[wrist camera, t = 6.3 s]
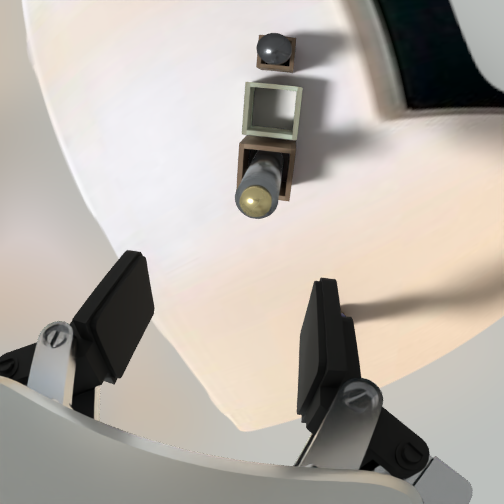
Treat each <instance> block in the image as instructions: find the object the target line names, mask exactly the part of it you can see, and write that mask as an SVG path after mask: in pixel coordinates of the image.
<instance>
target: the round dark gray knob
mask: <svg viewBox="0 0 504 504" xmlns="http://www.w3.org/2000/svg"><path fill="white" fill-rule="evenodd" d="M257 53H258V55H259V57H260V58H261V59H262V60H263V61H265V62H266V63H268V64H271V65H280V64H283V63H285V62H286V61H287V60H288V59H289V58H290V56H291V54H292V46H291V43H290V41H289V40H288V39H287V38H286V37H285V36H283V35H281V34H278V33H270V34H267V35H265V36H263V37H262V38H261V39H260V40H259V41H258V44H257Z"/></svg>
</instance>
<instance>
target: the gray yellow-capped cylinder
mask: <svg viewBox="0 0 504 504" xmlns="http://www.w3.org/2000/svg"><path fill="white" fill-rule="evenodd" d="M283 161H284V160H283V156H282V154H281V153H280V152H273V151H264V150H259V151H258V152H257V153H256V155H255V157H254V158H253V160H252V162H251V164H250V166H249V168H248V170H247V171H246V173H245V175H244V177H243V179H242V181H241V183H240V185H239V187H238V189H237V191H236V194H235V202H236V205H237V207H238V209H239V210H240V211H241V212H242V213H243V214H244V215H246V216H248V217H250V218H255V219H261V218H265V217H267V216H269V215H271V214H272V213H273V212H274V211H275V209H276V207H277V205H278V199H279V191H280V184H281V177H282V170H283Z"/></svg>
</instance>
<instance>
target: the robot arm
mask: <svg viewBox="0 0 504 504" xmlns="http://www.w3.org/2000/svg"><path fill="white" fill-rule="evenodd" d="M153 314H154V302H153V297H152V292H151V286H150V280H149V274H148V268H147V261H146V258H145V257H144V256H143V255H142V253H141V252H137V251H130V250H127V251H126V252H125V253H124V254H123V255H122V256H121V257H120V259H119V260H118V261H117V262H116V263H115V265H114V266H113V267H112V268H111V270H110V271H109V272H108V273H107V275H106V276H105V277H104V278H103V280H102V281H101V282H100V283H99V285H98V286H97V287H96V288H95V290H94V291H93V292H92V294H91V295H90V296H89V298H88V299H87V300H86V302H85V303H84V304H83V306H82V307H81V308H80V310H79V311H78V312H77V314H76V315H75V316H74V318H73V320H72V322H71V323H70V324H68V323H66V322H62V321H57V322H53V323H51V324H48V325H47V326H46V327H44V329H43V330H42V331H41V333H40V335H39V338H38V341H37V343H34V344H31V345H28V346H25V347H22V348H20V349H17V350H14V351H11V352H8V353H6V354H4V355H2V356H1V357H0V504H469V502H470V500H471V497H472V487H471V484H470V483H469V482H468V481H467V480H466V479H465V478H464V477H462V476H461V475H459V474H458V473H457V472H456V471H454V470H453V469H452V468H450V467H449V466H448V465H447V464H445V463H444V462H443V461H441V460H440V459H439V458H438V457H436V456H435V457H434V458H432V457H431V456H430V454H429V448H428V446H427V444H426V443H425V442H424V441H423V439H422V438H420V437H419V436H418V435H417V434H415V433H414V432H413V431H411V430H410V429H409V428H408V427H407V426H405V425H404V424H403V423H401V422H400V421H399V420H398V419H397V418H395V417H394V416H393V415H392V414H391V413H389V412H388V411H387V410H386V409H384V408H383V407H382V405H383V396H382V392H381V390H380V389H379V387H378V386H377V385H376V384H375V383H374V382H372V381H370V380H368V379H364V378H361V372H360V364H359V357H358V349H357V342H356V336H355V329H354V323H353V319H352V318H351V317H346V316H341V309H340V302H339V295H338V288H337V282H336V280H335V279H328V278H320V281H314V284H313V288H312V292H311V296H310V300H309V303H308V307H307V311H306V315H305V318H304V322H303V326H302V329H301V334H300V349H299V377H298V398H297V414H298V415H302V421H301V422H302V423H306V428H307V429H308V430H309V431H310V432H311V433H312V434H311V435H310V437H309V439H308V441H307V443H306V444H305V446H304V448H303V450H302V452H301V453H300V455H299V457H298V458H297V461H296V462H295V464H294V465H293V466H284V465H274V464H264V463H255V462H248V461H241V460H235V459H229V458H224V457H218V456H213V455H208V454H204V453H199V452H195V451H190V450H186V449H182V448H178V447H174V446H171V445H167V444H163V443H160V442H156V441H153V440H150V439H146V438H143V437H140V436H137V435H135V434H131V433H128V432H126V431H123V430H120V429H118V428H115V427H112V426H110V425H107V424H104V423H102V422H100V419H99V418H100V417H99V415H100V385H102V383H103V381H106V382H109V383H112V384H115V382H116V380H117V378H121V377H122V375H123V373H124V371H125V369H126V367H127V365H128V363H129V361H130V359H131V357H132V355H133V353H134V351H135V349H136V347H137V345H138V343H139V341H140V339H141V338H142V336H143V334H144V332H145V329H146V328H147V326H148V324H149V322H150V320H151V318H152V316H153Z"/></svg>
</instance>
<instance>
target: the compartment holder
mask: <svg viewBox="0 0 504 504" xmlns="http://www.w3.org/2000/svg"><path fill="white" fill-rule="evenodd" d="M263 36H265V35H259V40H260V39H261V38H262V37H263ZM286 38H287V39H288V40H289V41H290V43H291V46H292V54H291V56H290V65H289V66H280V65H269V64H266V62H265V61H263V60H262V59H261V58H260V57H259V55H258V54H257V66H256V67H257V68H259V69H261V70H269V71H280V72H289V73H293V68H294V57H295V46H296V38H291V37H286ZM255 87H259V88H271V89H281V90H290V91H297V94H296V103H295V113H294V122H293V130H288V129H280V128H271V127H261V126H252V115H253V102H254V90H255ZM302 90H303V87H295V86H287V85H278V84H267V83H254V82H246V83H245V96H244V110H243V124H242V134H243V135H247V136H246V137H245V138H244V139H243V140H242V141H241V142H240V143H239V156H238V173H237V189H238V187H239V185H240V183H241V181H242V179H243V177H244V175H245V173H246V171H247V170H248V168H249V154H250V149H254V150H264V151H273V152H281V153H289V154H290V156H289V164H288V173H287V181H286V182H285V181H281V184H280V191H279V199H278V200H283V201H289V199H290V192H291V184H292V177H293V169H294V161H295V153H296V141H293V140H297V134H298V125H299V117H300V108H301V99H302ZM248 135H254V136H248ZM259 136H264V137H259ZM268 137H273V138H268ZM277 138H282V139H277ZM285 139H290V140H285ZM236 191H237V190H236Z"/></svg>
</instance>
